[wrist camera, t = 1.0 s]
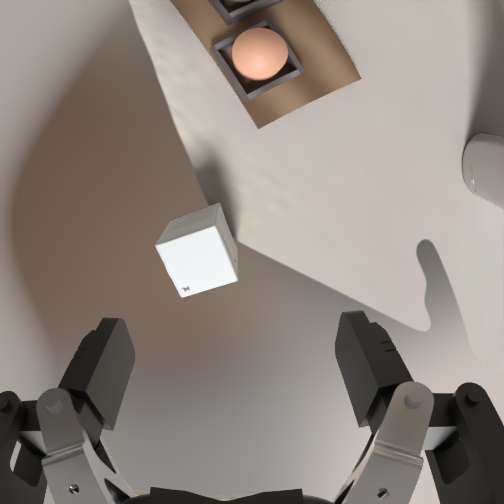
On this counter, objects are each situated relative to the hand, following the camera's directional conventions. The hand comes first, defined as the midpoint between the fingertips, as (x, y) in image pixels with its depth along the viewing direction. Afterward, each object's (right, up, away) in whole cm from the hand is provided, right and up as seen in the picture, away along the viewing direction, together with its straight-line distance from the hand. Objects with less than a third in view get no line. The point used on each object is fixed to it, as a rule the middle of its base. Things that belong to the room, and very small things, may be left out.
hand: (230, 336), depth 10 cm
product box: (-5, +5, +23) cm, 24 cm away
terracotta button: (+1, +20, +11) cm, 23 cm away
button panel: (-1, +29, +11) cm, 31 cm away
